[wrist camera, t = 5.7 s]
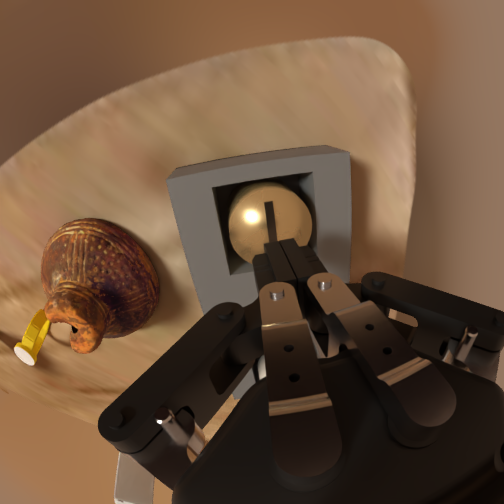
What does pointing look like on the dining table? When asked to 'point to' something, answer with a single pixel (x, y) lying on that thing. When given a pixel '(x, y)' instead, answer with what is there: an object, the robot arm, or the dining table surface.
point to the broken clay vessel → (97, 282)
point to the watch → (33, 338)
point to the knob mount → (217, 229)
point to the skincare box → (133, 483)
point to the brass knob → (265, 216)
